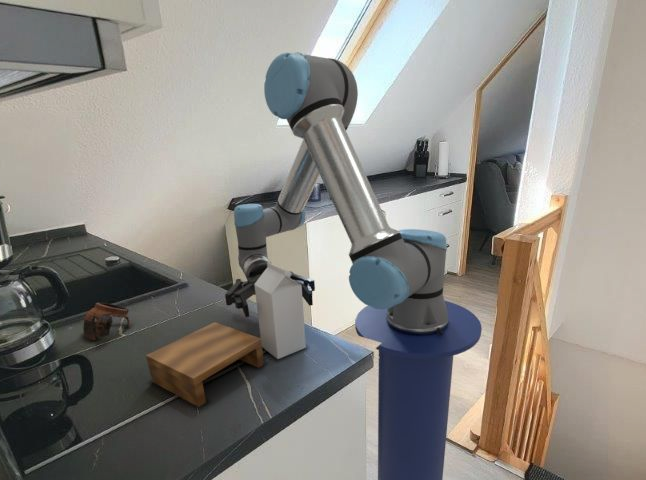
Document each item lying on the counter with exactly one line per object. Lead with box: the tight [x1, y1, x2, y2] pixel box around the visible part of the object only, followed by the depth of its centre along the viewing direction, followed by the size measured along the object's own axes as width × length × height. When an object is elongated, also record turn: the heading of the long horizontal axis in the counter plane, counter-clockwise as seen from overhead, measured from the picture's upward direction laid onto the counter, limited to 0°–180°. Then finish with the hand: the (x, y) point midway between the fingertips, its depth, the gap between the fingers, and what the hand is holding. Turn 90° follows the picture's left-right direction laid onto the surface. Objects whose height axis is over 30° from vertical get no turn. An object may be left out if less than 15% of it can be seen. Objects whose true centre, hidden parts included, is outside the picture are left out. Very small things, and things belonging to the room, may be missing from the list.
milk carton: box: [254, 262, 307, 360], centre depth 85 cm, size 7×7×19 cm
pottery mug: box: [82, 302, 131, 341], centre depth 96 cm, size 12×10×8 cm
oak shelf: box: [145, 321, 265, 408], centre depth 79 cm, size 14×16×6 cm
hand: (279, 305), depth 85 cm, fingers open, 13 cm apart
